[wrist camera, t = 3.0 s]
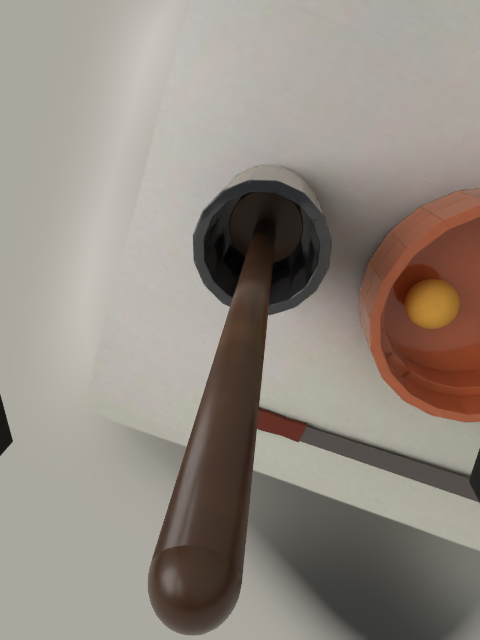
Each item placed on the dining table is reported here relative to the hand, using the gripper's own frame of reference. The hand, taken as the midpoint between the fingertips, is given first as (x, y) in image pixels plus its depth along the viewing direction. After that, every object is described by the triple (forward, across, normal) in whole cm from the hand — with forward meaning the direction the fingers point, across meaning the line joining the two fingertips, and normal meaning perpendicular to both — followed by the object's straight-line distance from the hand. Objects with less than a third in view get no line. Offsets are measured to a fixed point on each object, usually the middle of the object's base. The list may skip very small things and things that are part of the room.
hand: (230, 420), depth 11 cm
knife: (+26, +13, -24) cm, 38 cm away
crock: (+26, 0, 0) cm, 26 cm away
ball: (+23, +13, -5) cm, 27 cm away
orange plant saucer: (+26, +17, -5) cm, 31 cm away
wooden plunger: (+25, 0, 0) cm, 25 cm away
